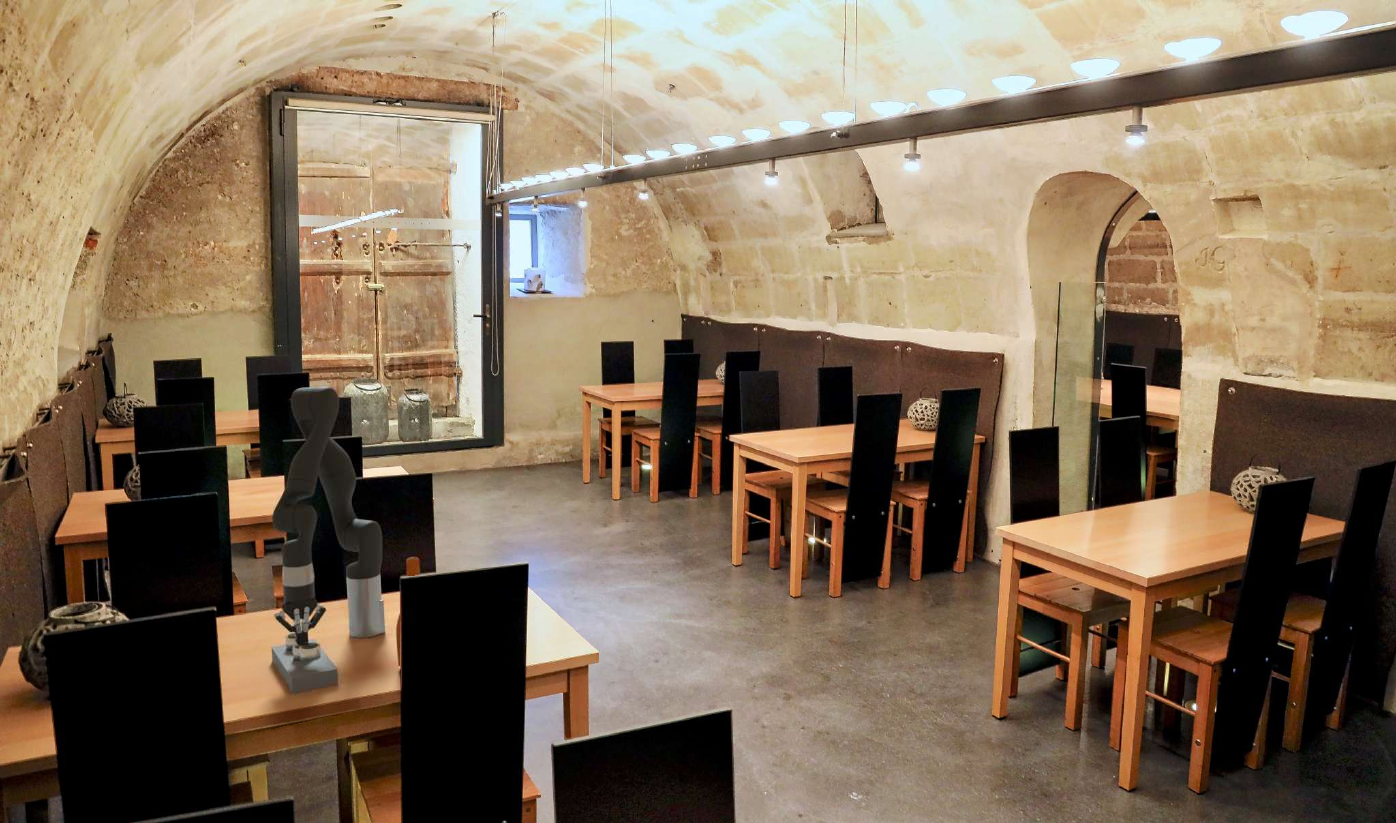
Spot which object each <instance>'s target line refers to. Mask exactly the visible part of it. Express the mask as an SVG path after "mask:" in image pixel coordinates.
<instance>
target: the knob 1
mask: <svg viewBox="0 0 1396 823" xmlns="http://www.w3.org/2000/svg"><path fill="white" fill-rule="evenodd" d="M285 644H286V649H288V650H293V646H294V645H296V644H297V643H296V637H295V632H291V633H289V634H287V635H286V636H285Z"/></svg>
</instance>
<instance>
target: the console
mask: <svg viewBox="0 0 1396 823" xmlns="http://www.w3.org/2000/svg"><path fill="white" fill-rule="evenodd" d="M308 642H309V643H318V642H317V640H316V639H315V638H312V639H308ZM320 648H321V658H319V659H317V660H314V661H308V662H305V661H297V660H294V659H293V650H288V649H286V643H285V644H280V645H277V646H271V657H272V660H271V661H272V663H273V665H274V666H275V667H276V670H277V671H278V673H279V674H280V676H281V677H283V678H282V680H283V681H284V682H285V684H286V685H287V687H288V689H289V691H290V692H291V693H292V695H294V694H298V693H303V692H307V691H311V690H317V689H321V688H326V687H330V686H336V685H338V684H339V676H338V675H339V673H338V671H339V670H338V667H337V666H336V665H335V663H334V662H333V661H332V660H331V659H330V657H329V656H328V654H326V652H325V651H324V649H323V648H322V647H321V646H320Z"/></svg>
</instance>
